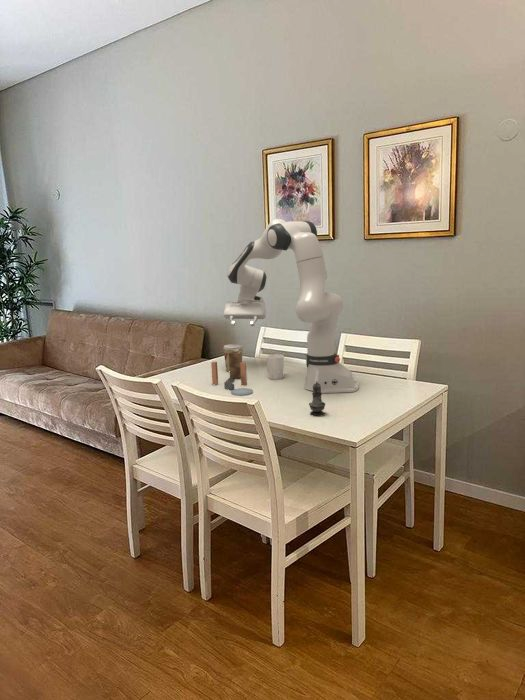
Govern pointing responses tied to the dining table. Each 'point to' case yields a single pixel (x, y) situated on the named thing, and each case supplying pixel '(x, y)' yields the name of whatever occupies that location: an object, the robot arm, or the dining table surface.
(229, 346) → the coffee cup
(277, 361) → the white cup
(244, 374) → the wire course
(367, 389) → the dining table surface
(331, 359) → the robot arm
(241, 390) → the pad
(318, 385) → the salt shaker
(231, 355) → the block
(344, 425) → the dining table surface
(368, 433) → the dining table surface
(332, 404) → the dining table surface
